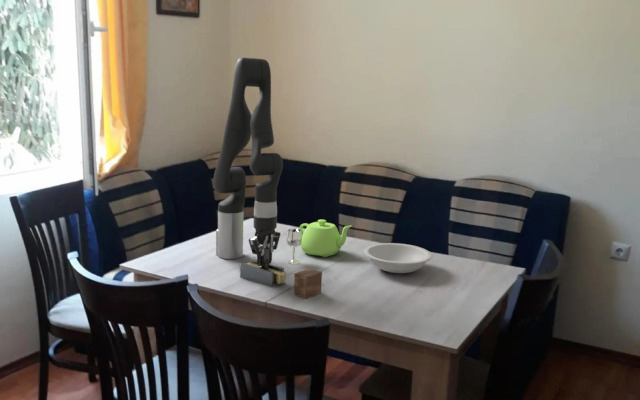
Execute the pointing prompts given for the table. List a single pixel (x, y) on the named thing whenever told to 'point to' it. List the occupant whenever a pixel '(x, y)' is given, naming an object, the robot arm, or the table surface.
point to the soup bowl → (397, 257)
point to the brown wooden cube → (307, 283)
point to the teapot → (322, 238)
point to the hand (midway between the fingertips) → (264, 264)
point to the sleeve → (259, 273)
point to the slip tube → (278, 275)
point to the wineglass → (294, 242)
